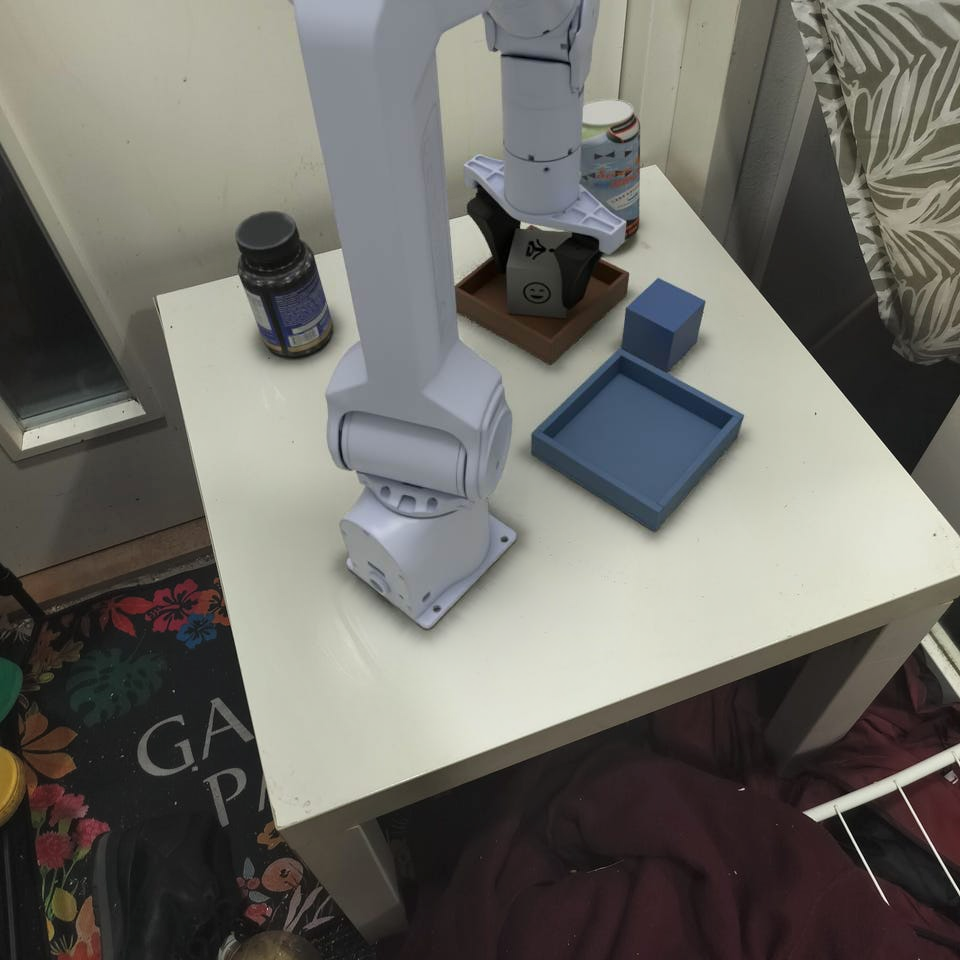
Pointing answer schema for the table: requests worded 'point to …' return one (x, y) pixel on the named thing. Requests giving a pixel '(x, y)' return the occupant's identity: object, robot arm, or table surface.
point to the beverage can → (612, 158)
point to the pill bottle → (282, 284)
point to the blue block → (662, 324)
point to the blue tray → (636, 437)
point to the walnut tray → (538, 335)
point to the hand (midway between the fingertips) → (540, 284)
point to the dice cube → (535, 274)
